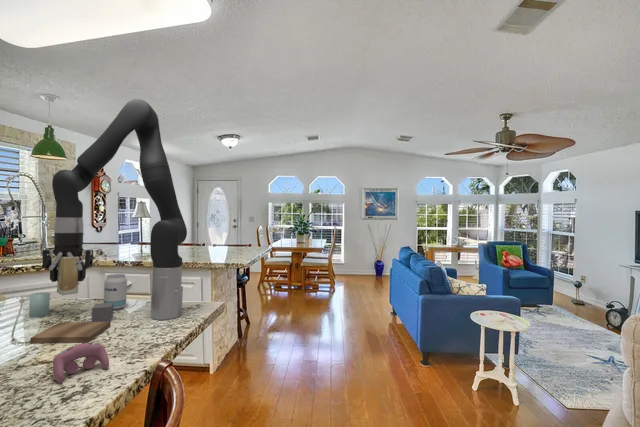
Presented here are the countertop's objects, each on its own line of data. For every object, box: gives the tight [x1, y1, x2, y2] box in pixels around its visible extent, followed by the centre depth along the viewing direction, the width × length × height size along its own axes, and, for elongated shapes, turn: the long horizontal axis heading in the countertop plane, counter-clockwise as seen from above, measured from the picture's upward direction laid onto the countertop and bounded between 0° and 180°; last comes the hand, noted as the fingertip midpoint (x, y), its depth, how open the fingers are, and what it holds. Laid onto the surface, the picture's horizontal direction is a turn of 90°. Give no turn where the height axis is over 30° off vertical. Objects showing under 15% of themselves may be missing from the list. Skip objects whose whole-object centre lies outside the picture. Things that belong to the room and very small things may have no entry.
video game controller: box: [52, 342, 110, 384], centre depth 71 cm, size 10×5×7 cm, turn 140°
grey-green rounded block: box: [28, 291, 51, 319], centre depth 106 cm, size 5×5×7 cm
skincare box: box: [56, 257, 79, 296], centre depth 105 cm, size 6×4×12 cm
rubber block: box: [90, 302, 114, 322], centre depth 103 cm, size 5×5×5 cm
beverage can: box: [103, 273, 128, 311], centre depth 116 cm, size 7×7×12 cm
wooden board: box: [29, 321, 112, 344], centre depth 91 cm, size 14×12×2 cm
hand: (67, 281), depth 105 cm, fingers closed on skincare box, 7 cm apart
